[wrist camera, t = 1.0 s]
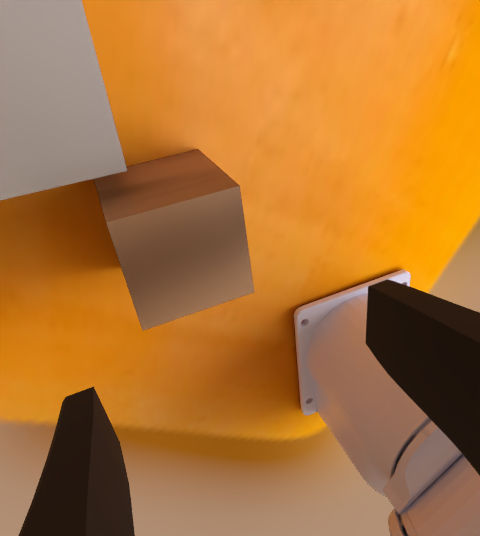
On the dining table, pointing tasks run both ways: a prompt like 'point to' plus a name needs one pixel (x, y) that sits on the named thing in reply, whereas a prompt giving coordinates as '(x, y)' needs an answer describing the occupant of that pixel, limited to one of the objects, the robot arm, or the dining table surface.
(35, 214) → the dining table surface
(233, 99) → the dining table surface
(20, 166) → the stone slab
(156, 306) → the walnut block
